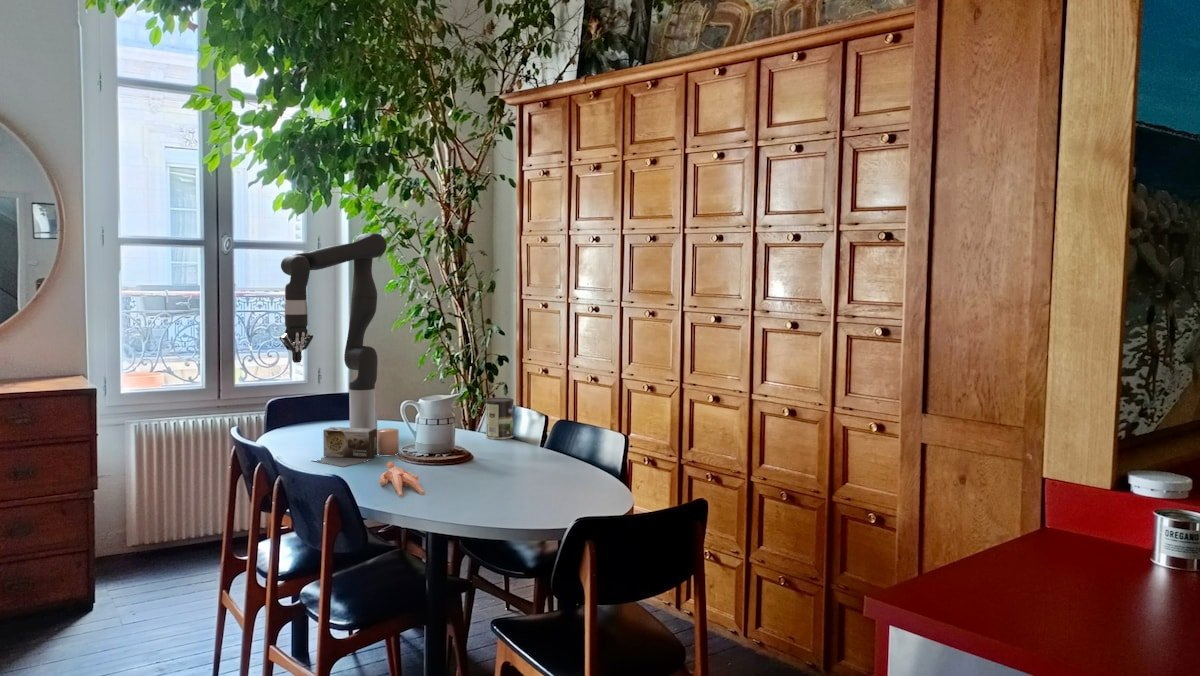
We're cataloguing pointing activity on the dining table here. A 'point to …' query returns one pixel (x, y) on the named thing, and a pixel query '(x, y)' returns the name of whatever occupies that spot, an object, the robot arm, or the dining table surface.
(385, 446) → the peach rounded block
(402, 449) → the dining table surface
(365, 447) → the coffee box
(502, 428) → the coffee can
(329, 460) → the mat
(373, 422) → the robot arm
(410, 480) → the male figurine
